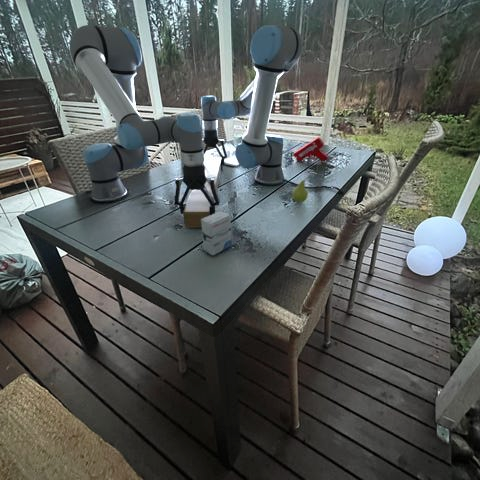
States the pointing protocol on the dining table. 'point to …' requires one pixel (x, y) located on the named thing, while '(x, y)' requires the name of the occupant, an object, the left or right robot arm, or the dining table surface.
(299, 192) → the fruit
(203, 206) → the slab
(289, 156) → the dining table surface
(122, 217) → the dining table surface
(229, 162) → the relief map
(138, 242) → the dining table surface
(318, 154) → the toy gun
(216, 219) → the ink box
